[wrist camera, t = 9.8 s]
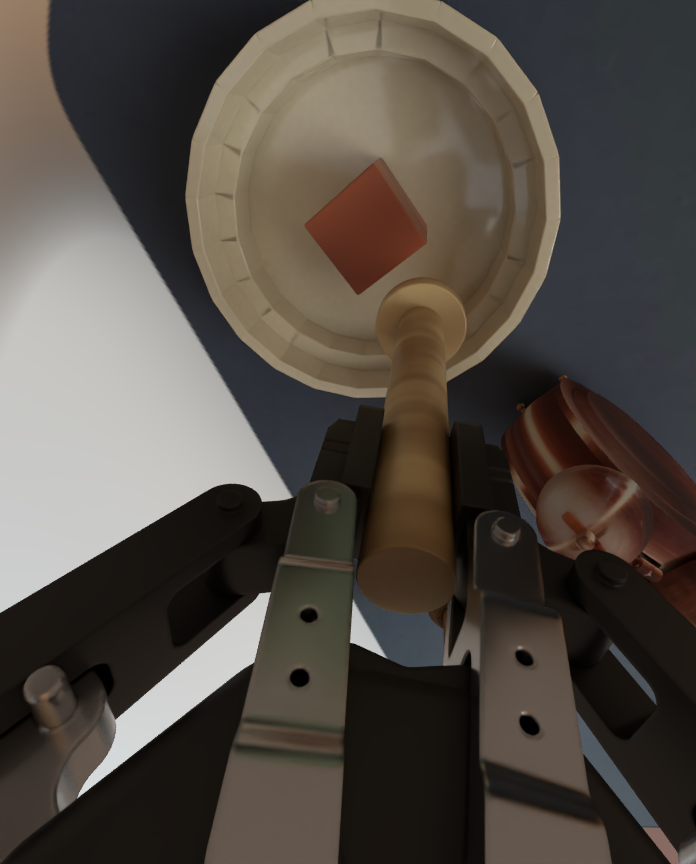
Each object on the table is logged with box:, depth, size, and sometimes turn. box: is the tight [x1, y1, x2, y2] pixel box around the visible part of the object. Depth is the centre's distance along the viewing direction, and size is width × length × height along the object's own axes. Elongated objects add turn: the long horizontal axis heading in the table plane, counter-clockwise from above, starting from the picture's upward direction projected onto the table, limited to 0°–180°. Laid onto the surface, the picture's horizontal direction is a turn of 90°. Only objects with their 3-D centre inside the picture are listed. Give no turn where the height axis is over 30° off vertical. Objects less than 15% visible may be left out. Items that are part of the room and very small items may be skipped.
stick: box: [356, 277, 467, 614], centre depth 16 cm, size 4×4×15 cm
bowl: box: [185, 0, 561, 398], centre depth 23 cm, size 16×16×5 cm
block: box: [304, 158, 427, 295], centre depth 23 cm, size 4×4×4 cm
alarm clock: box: [501, 375, 696, 627], centre depth 24 cm, size 11×5×15 cm, turn 56°
